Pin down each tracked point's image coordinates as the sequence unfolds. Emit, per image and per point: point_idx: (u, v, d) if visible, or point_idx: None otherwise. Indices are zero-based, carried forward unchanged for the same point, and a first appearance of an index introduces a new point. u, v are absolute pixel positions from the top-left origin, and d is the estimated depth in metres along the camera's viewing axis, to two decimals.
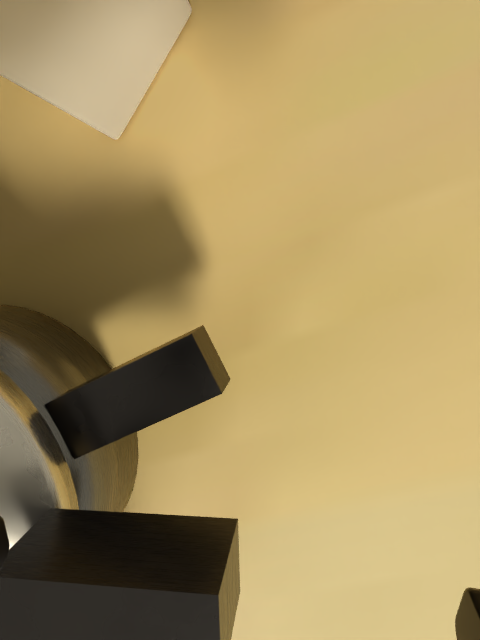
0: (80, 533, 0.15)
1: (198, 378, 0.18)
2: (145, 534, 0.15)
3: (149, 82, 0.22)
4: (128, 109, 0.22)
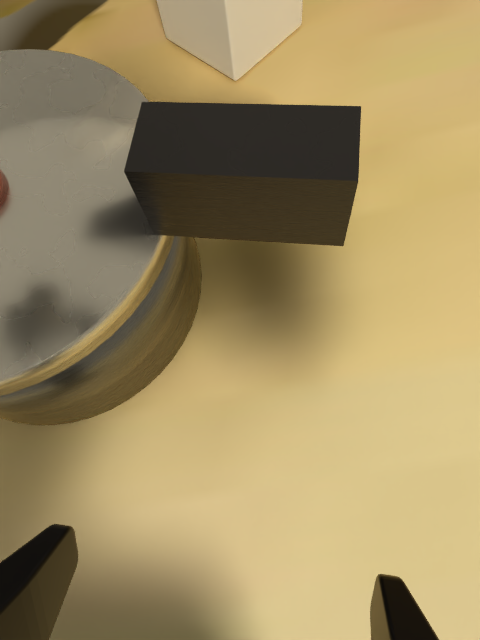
0: None
1: None
2: None
3: (266, 52, 0.32)
4: (250, 59, 0.31)
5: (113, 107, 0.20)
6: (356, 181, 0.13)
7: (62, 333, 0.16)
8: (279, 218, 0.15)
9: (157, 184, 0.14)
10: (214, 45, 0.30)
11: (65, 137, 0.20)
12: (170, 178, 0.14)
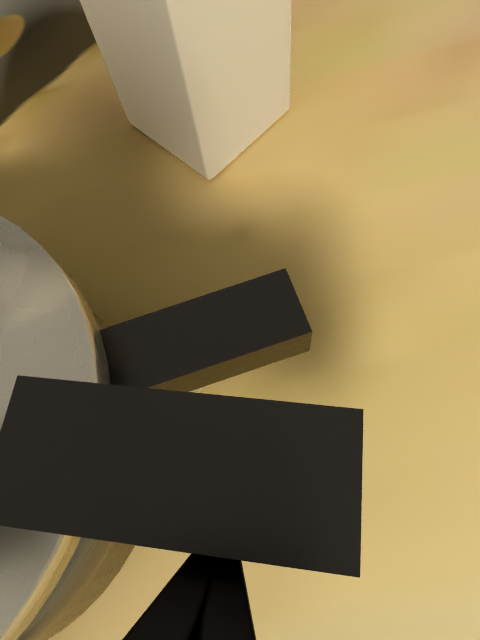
0: None
1: (286, 313, 0.16)
2: None
3: (247, 144, 0.27)
4: (226, 155, 0.26)
5: (19, 292, 0.14)
6: None
7: None
8: None
9: None
10: (182, 142, 0.25)
11: None
12: (50, 531, 0.09)
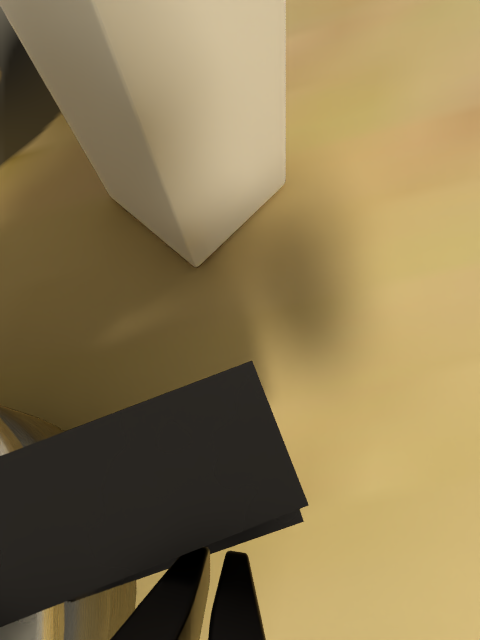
0: None
1: None
2: None
3: (238, 226, 0.24)
4: (215, 241, 0.24)
5: None
6: (306, 505, 0.08)
7: None
8: None
9: None
10: (165, 231, 0.23)
11: None
12: (7, 624, 0.08)
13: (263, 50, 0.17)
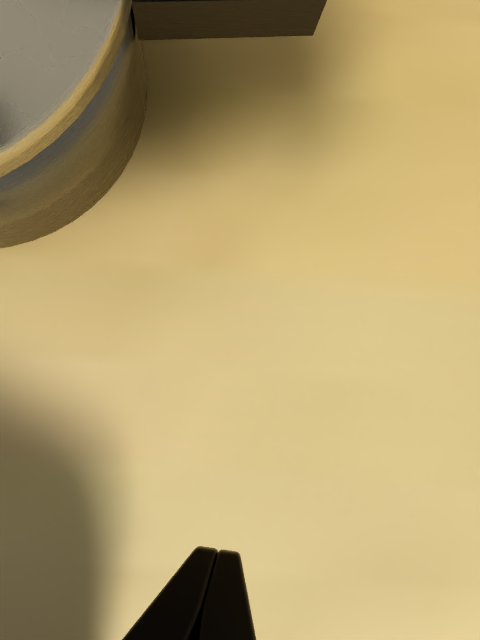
0: None
1: None
2: None
3: None
4: None
5: None
6: None
7: (49, 83, 0.13)
8: None
9: None
10: None
11: None
12: None
13: None
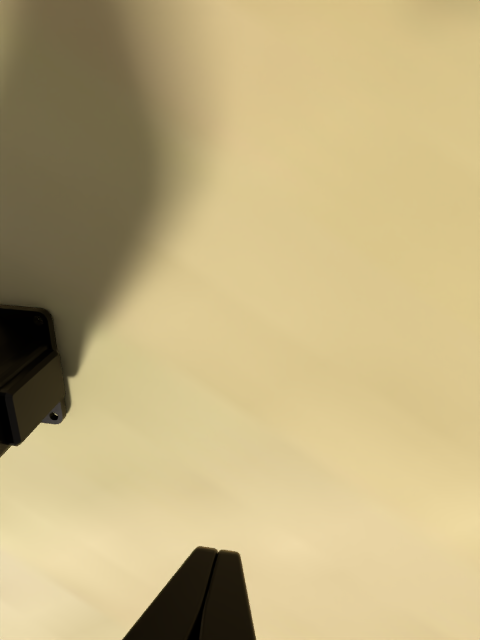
0: None
1: None
2: None
3: None
4: None
5: None
6: None
7: None
8: None
9: None
10: None
11: None
12: None
13: None
